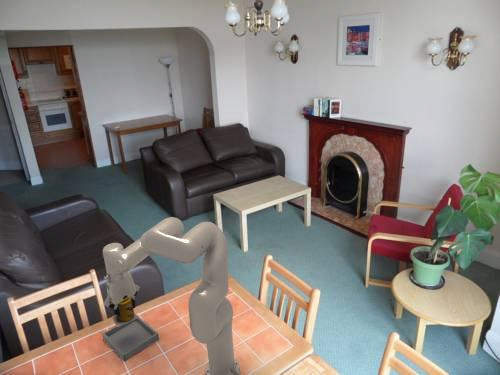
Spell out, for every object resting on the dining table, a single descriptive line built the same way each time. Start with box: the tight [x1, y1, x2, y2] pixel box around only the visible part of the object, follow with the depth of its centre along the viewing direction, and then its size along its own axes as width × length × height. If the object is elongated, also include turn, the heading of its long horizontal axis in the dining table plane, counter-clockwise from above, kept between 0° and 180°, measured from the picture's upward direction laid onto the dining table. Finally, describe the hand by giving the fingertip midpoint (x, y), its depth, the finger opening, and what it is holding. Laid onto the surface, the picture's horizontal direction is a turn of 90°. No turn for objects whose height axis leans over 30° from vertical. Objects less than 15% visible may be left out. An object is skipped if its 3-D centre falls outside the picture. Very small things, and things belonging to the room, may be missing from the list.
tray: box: [101, 314, 160, 362], centre depth 157 cm, size 18×16×3 cm
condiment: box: [111, 295, 138, 327], centre depth 150 cm, size 7×8×12 cm
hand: (125, 310), depth 152 cm, fingers closed on condiment, 6 cm apart
